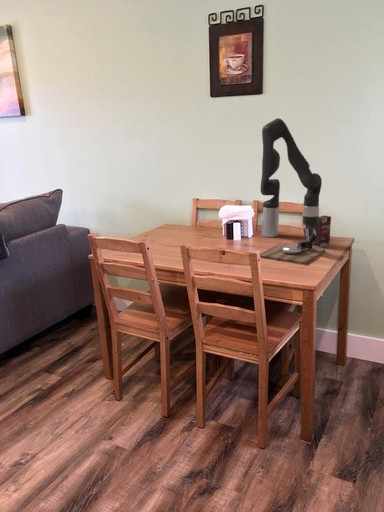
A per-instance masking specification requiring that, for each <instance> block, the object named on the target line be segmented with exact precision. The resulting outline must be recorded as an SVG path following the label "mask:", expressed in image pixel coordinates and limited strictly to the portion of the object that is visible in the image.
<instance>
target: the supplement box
mask: <svg viewBox="0 0 384 512" xmlns="http://www.w3.org/2000/svg"><path fill="white" fill-rule="evenodd" d="M331 223H332V216H331V215H330V216H329V215H324V214H323V215H319V223H318V224H317V225H316V226H315V227H316V231H315V232H316V233H318V235H317V237H316V240H315V241H313V247H312V248H318V249H323V248H325V247H328V246H330V243H331V242H330V239H331V225H332V224H331Z"/></svg>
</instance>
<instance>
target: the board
mask: <svg viewBox="0 0 384 512" xmlns="http://www.w3.org/2000/svg"><path fill="white" fill-rule="evenodd" d="M285 245H289V244H286V243H278V244H276V245H275V246H272V247H271V248H269V249H266V250H265V251H263V252H261V253H259V254H260V257H261V259H267V260H272V261H273V260H274V261H280V262H285V263H291V264H292V263H293V264H298V265H304V266H307V265H308V264H309V263H311V262H313V261H314V260H315V259H317V258H318V257H320V256H321V255H323V254H324V253H326V249H325V248H317V247H312V249H308V248H307V249H302V253H299V254H286V253H283V252H282V247H283V246H285Z"/></svg>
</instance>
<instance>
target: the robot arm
mask: <svg viewBox="0 0 384 512" xmlns="http://www.w3.org/2000/svg"><path fill="white" fill-rule="evenodd" d="M261 137H262V138H261V139H262V161H261V165H262V167H261V180H260V193H261V195H262V196H272V197H271V198H270V199H268V200H265V201H263V202H262V219H261V222H260V223H261V224H260V225H261V226H260V227H261V230H260V231H261V233H260V236H261V237H265V238H276V237H278V236H279V222H280V218H279V217H280V216H279V215H280V190H281V183H280V180H279V179H278V178H277V179H276V178H272V176H273V175H274V174H276V172H277V171H278V170H279V168H280V163H281V156H280V153H279V152H278V151H277V149H275V148H274V146H275V145H274V143H275V142H276V141H277V140H280V139H283V140H284V142H285V145H286V152H287V160H288V163H290V166H291V167H292V168H293V169H294V172H295V173H297V176H298V178H299V181H300V183H301V184H302V186H303V187H304V188H306V193H305V195H304V198H303V210H302V224H303V225H304V226H305V227H303V234H304V238H305V240H307V248H308V249H312V248H314V247H313V241H315V240H316V237H317V235H318V233H316V232H315V231H316V227H315V226H316V225H317V224H318V223H319V217H320V207H319V206H320V203H319V202H320V195H321V194H320V193H321V189H322V177H321V175H320V174H319V173H315V172H314V173H313V172H312V171H311V168H310V163H309V162H308V159H306V157H305V156H304V155H303V153H302V152H301V150H300V149H299V146H298V145H297V143H296V141H295V139H294V138H293V135H292V134H291V131H290V130H289V127H288V125H287V124H286V122H284V120H283V119H281V118H280V117H279V118H275V119H273V120H271V121H270V122H267V123H266V124H265V125H263V127H262V130H261ZM270 178H271V179H270Z"/></svg>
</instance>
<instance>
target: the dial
mask: <svg viewBox="0 0 384 512" xmlns="http://www.w3.org/2000/svg"><path fill="white" fill-rule="evenodd" d="M302 249H307V239H305V240H302V241H297V244H288V245H285V246H283V247H282V252H283V253H286V254H299V253H302Z"/></svg>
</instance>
